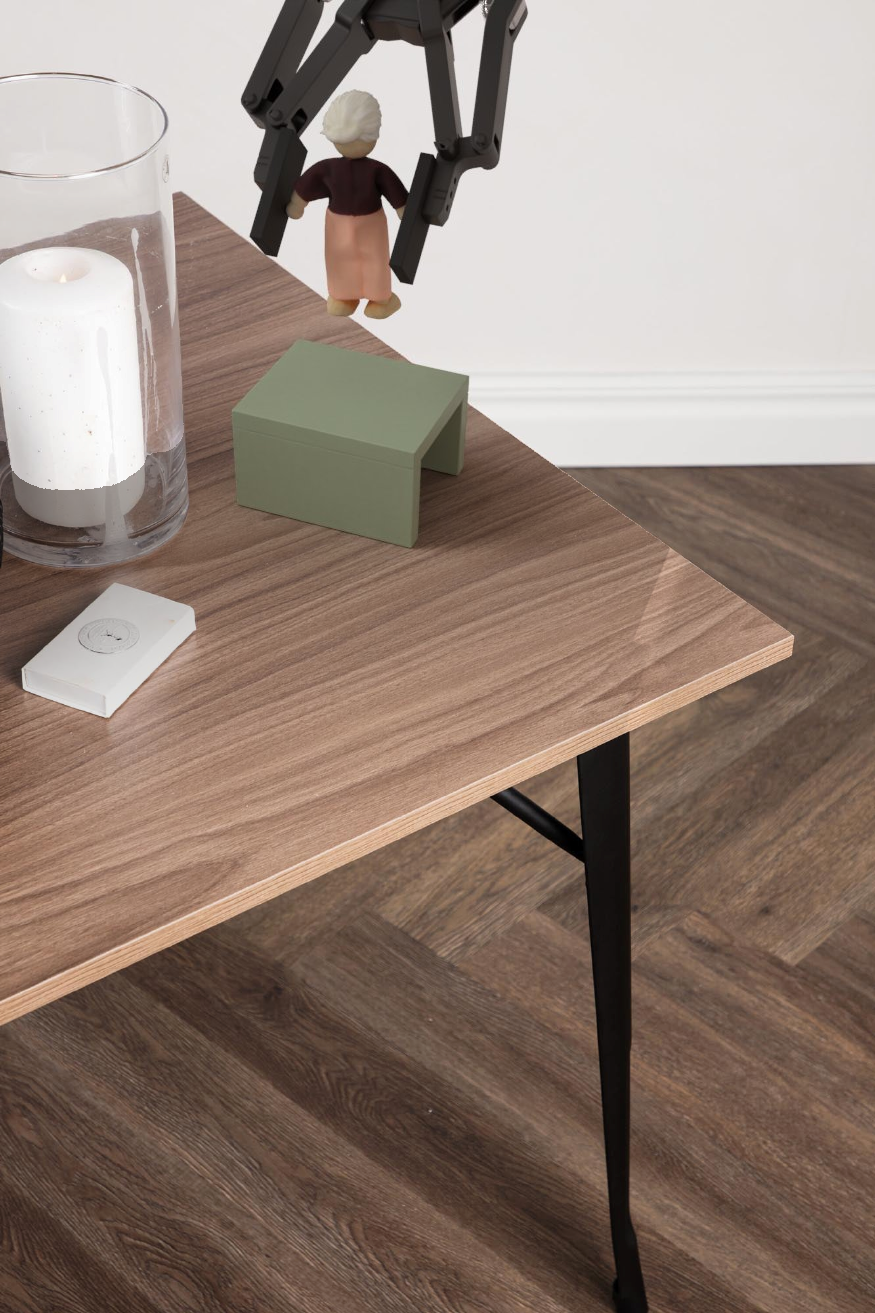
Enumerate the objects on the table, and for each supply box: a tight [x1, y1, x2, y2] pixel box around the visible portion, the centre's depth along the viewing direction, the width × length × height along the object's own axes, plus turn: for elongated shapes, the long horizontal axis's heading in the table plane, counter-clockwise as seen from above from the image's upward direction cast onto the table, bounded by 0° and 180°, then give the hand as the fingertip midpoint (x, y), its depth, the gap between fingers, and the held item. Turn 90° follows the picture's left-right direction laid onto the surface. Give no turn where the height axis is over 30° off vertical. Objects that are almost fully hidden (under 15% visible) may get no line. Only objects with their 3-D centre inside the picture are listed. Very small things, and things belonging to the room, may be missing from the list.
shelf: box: [231, 338, 470, 549], centre depth 91 cm, size 12×10×7 cm
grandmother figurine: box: [286, 89, 409, 320], centre depth 81 cm, size 8×4×13 cm, turn 93°
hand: (331, 260), depth 80 cm, fingers closed on grandmother figurine, 8 cm apart
